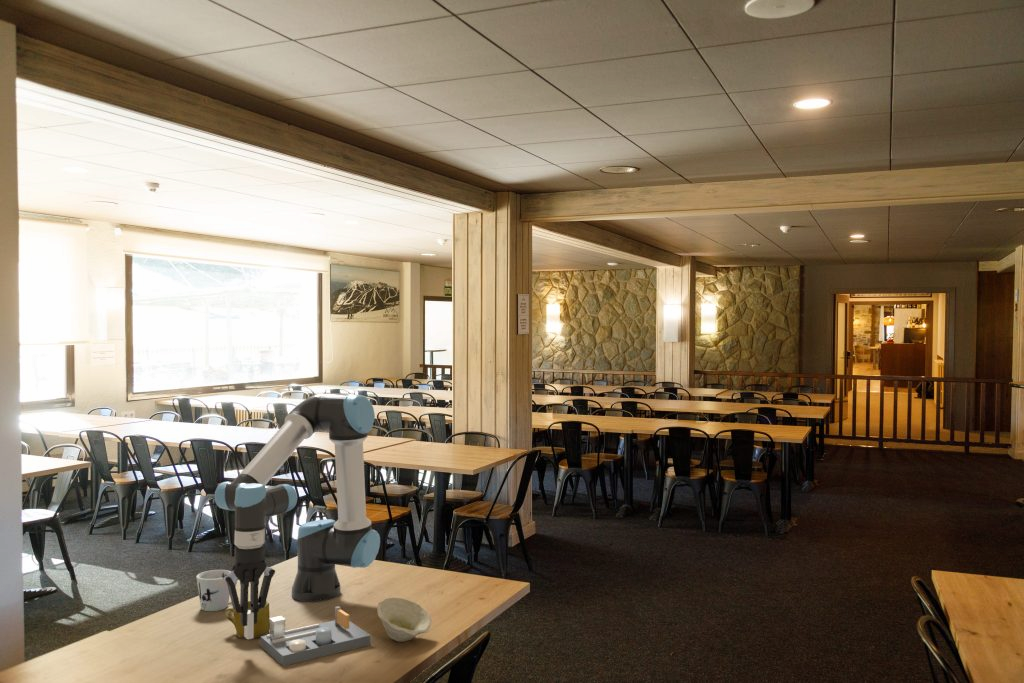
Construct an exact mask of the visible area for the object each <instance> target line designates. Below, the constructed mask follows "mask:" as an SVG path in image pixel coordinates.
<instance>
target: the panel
mask: <svg viewBox="0 0 1024 683" xmlns="http://www.w3.org/2000/svg"><path fill="white" fill-rule="evenodd" d="M323 627H328V628H331V629H332V642H331V644H327V645H323V646H319V645H316V630H317V629H318V628H323ZM298 639H301V640H305V641H306V650H302V651H298V652H293V653H292V652H291V651H290V642H291V641H293V640H298ZM371 640H372V636H371V634H369V633H368V632H367V631H365V630H364V629H362V628H360V627H359V626H357V625H356V624H355V623H353V622H351V621H350V620H349V629H345V628H344V627H342V626H341V625H339V626H336V625H335V619H334V620H331V621H327V622H326V621H325V622H321V623H315V624H311V625H306V626H302V627H301V626H300V627H298V628H297V627H296V628H292V629H288V630H285V637H284V638H280V639H275V640H272V639H271V638H270V633H267V634H265V635H263V636H260V647H261V648H262V649H263V650H265V651H266V652H267V654H269V655H270V656H271V657H272V658H273V659H275V661H277V662H278V663H279V664H280V665H281V666H282V667H285V666H288V665H292V664H296V663H300V662H305V661H309V660H314V659H317V658H321V657H325V656H329V655H334V654H338V653H341V652H342V653H343V652H347V651H350V650H353V649H359V648H363V647H366V646H370V645H372V644H371V642H372V641H371Z"/></svg>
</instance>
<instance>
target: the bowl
mask: <svg viewBox="0 0 1024 683" xmlns="http://www.w3.org/2000/svg"><path fill="white" fill-rule="evenodd" d="M376 609H377V615H378V617H379V619H380V620H381V623H382V625H383V626H384V628H385V631H386V634H387V635H388V637H389V638H390V639H392V640H394V641H396V642H400V643H401V642H407V641H410V640H412V639H414V638H415V637H416V636H418V635H420V634H421V635H422V634H427V633H428V632H429V630H430V628H431V624H432V618H431V616H430V614H429V613H428V612H427V611H426V610H425V608H423V607H422V606H421V605H420V604H418V603H416V602H414V601H412V600H408V599H406V598H400V597H388V598H385V599H383V600H382V601H380V602H379V603H378V604H377V606H376Z"/></svg>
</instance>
